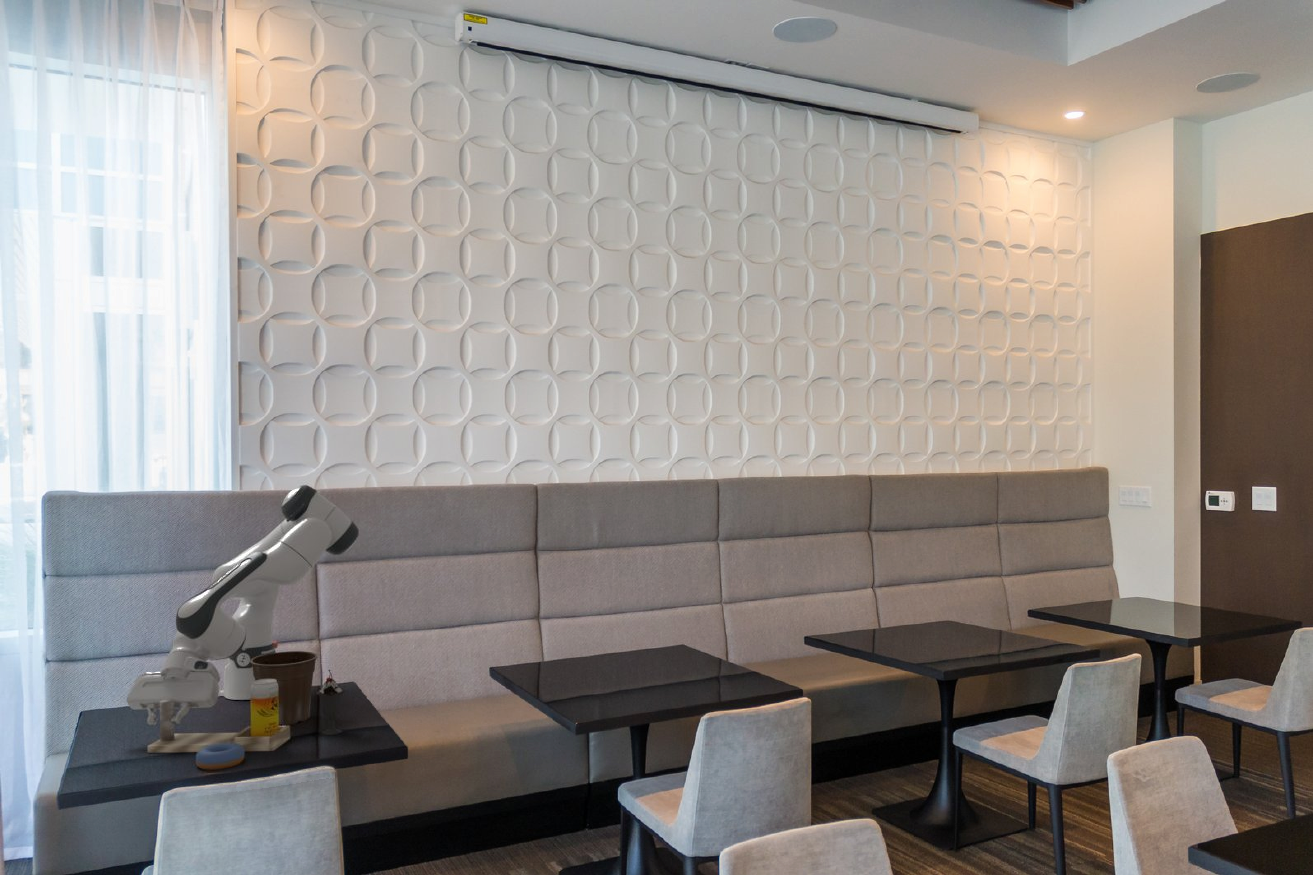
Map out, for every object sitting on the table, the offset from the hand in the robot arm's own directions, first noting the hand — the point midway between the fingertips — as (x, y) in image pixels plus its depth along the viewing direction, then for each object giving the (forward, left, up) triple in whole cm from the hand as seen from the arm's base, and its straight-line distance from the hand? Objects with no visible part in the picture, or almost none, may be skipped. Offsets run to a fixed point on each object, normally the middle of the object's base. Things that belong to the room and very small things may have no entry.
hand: (162, 722), depth 231 cm
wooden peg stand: (-1, +13, -6) cm, 14 cm away
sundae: (-11, +36, -6) cm, 38 cm away
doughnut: (+13, +19, -6) cm, 24 cm away
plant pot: (-23, +20, -6) cm, 31 cm away
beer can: (-1, +24, -6) cm, 24 cm away
